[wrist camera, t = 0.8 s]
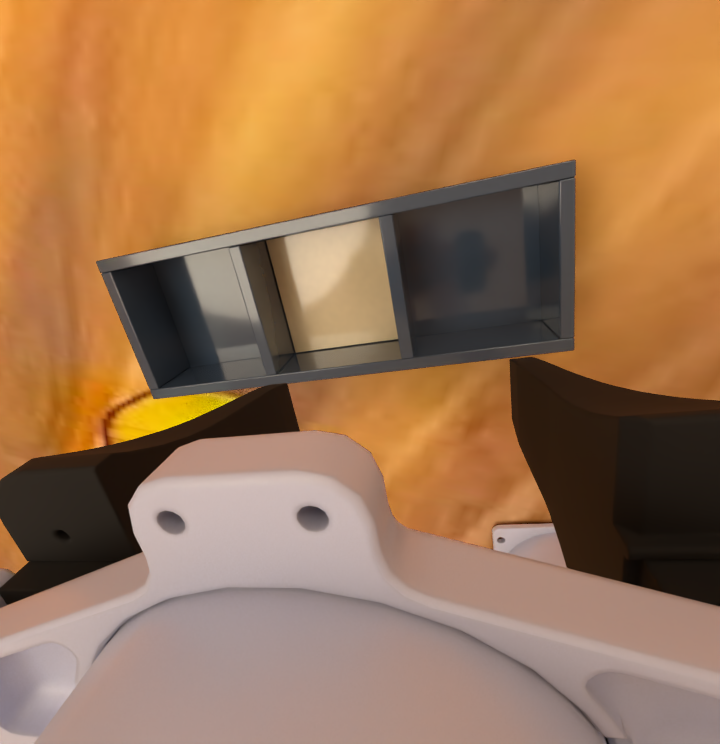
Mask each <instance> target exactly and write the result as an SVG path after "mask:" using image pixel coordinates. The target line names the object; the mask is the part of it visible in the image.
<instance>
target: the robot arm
mask: <svg viewBox="0 0 720 744" xmlns="http://www.w3.org/2000/svg"><path fill="white" fill-rule="evenodd" d="M510 382H511V404H512V420H513V424H514V428H515V432H516V435H517V439H518V442H519V445H520V447H521V450H522V452H523V454H524V456H525V459H526V461H527V463H528V465H529V467H530V470H531V472H532V474H533V476H534V478H535V480H536V483H537V485H538V487H539V489H540V491H541V493H542V496H543V498H544V500H545V502H546V505H547V508H548V510H549V513H550V515H551V518H552V522H553V523H545V524H511V525H496V526H494V527H493V528H492V538H493V549H494V550H493V549H489V548H485V547H481V546H477V545H473V544H469V543H465V542H461V541H457V540H453V539H449V538H445V537H441V536H437V535H433V534H429V533H425V532H421V531H417V530H413V529H410V528H407V527H405V526H404V525H402V524H400V523H399V522H398V521H397V520H396V519H395V518H394V516H393V515H392V512H391V510H390V507H389V504H388V500H387V494H386V489H385V484H384V479H383V475H382V473H381V471H380V469H379V468H378V466H377V464H376V462H375V460H374V458H373V456H372V454H371V452H369V451H368V450H367V449H365V448H364V447H362V446H361V445H359V444H358V443H356V442H355V441H353V440H352V439H350V438H349V437H348V436H346V435H342V434H335V433H329V432H323V431H316V430H313V431H300V430H299V427H298V423H297V419H296V415H295V412H294V408H293V404H292V400H291V397H290V393H289V389H288V385H287V383H281V384H272V385H267V386H264V387H261V388H258V389H256V390H254V391H252V392H249V393H247V394H245V395H243V396H241V397H239V398H237V399H235V400H233V401H231V402H229V403H227V404H225V405H223V406H221V407H219V408H216V409H214V410H212V411H210V412H208V413H206V414H203V415H201V416H199V417H197V418H195V419H192V420H190V421H187V422H185V423H182V424H179V425H177V426H174V427H171V428H169V429H166V430H163V431H160V432H156V433H153V434H150V435H146V436H143V437H140V438H136V439H133V440H129V441H125V442H121V443H117V444H113V445H108V446H104V447H99V448H94V449H89V450H84V451H78V452H72V453H65V454H59V455H53V456H46V457H39V458H34V459H31V460H29V461H28V462H26V463H25V464H23V465H22V466H20V467H19V468H17V469H16V470H14V471H13V472H11V473H10V474H8V475H7V476H5V477H4V478H2V479H1V480H0V518H1V520H2V522H3V524H4V526H5V527H6V529H7V530H8V532H9V533H10V535H11V536H12V538H13V540H14V541H15V543H16V544H17V546H18V547H19V549H20V550H21V552H22V554H23V555H24V557H25V558H26V560H27V561H29V562H28V563H27V564H26V565H25V566H24V567H23V568H22V569H21V570H19V571H18V572H17V573H16V574H15V573H13V572H12V571H10V570H8V569H4V568H0V744H720V401H716V400H701V399H690V398H680V397H672V396H665V395H658V394H651V393H645V392H640V391H634V390H630V389H626V388H621V387H617V386H613V385H609V384H605V383H602V382H599V381H596V380H593V379H590V378H586V377H583V376H581V375H578V374H575V373H573V372H570V371H567V370H565V369H562V368H560V367H557V366H555V365H553V364H550V363H548V362H545V361H543V360H540V359H537V358H533V357H528V358H518V359H510ZM500 537H502V539H498V538H500Z"/></svg>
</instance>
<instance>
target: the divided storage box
mask: <svg viewBox="0 0 720 744" xmlns="http://www.w3.org/2000/svg"><path fill="white" fill-rule="evenodd" d="M575 175H576V160H570V161H566V162H561V163H556V164H551V165H547V166H542V167H537V168H533V169H528V170H523V171H519V172H514V173H509V174H504V175H500V176H495V177H490V178H486V179H481V180H476V181H471V182H467V183H462V184H457V185H453V186H448V187H443V188H438V189H434V190H429V191H424V192H420V193H415V194H410V195H405V196H401V197H396V198H391V199H387V200H382V201H377V202H373V203H368V204H363V205H358V206H354V207H349V208H344V209H340V210H335V211H330V212H325V213H321V214H316V215H311V216H307V217H302V218H297V219H292V220H288V221H283V222H278V223H274V224H269V225H264V226H259V227H255V228H250V229H245V230H241V231H236V232H231V233H226V234H222V235H217V236H212V237H208V238H203V239H198V240H194V241H189V242H184V243H179V244H175V245H170V246H165V247H161V248H156V249H151V250H146V251H142V252H137V253H132V254H128V255H123V256H118V257H113V258H109V259H104V260H99V261H96V263H97V266H98V268H99V270H100V273H102V274H101V275H102V277H103V280H104V282H105V284H106V287H107V289H108V291H109V294H110V296H111V299H112V301H113V303H114V306H115V308H116V310H117V313H118V315H119V318H120V320H121V322H122V325H123V327H124V329H125V332H126V334H127V337H128V339H129V341H130V344H131V346H132V348H133V351H134V353H135V356H136V358H137V360H138V363H139V365H140V367H141V370H142V372H143V374H144V377H145V379H146V382H147V384H148V386H149V389H151V390H150V391H151V394H152V396H153V398H154V399H160V398H169V397H177V396H186V395H194V394H203V393H211V392H220V391H229V390H237V389H246V388H254V387H263V386H267V385H272V384H281V383H287V384H289V383H297V382H306V381H314V380H323V379H332V378H340V377H349V376H357V375H366V374H375V373H383V372H392V371H400V370H409V369H417V368H426V367H435V366H443V365H452V364H460V363H469V362H478V361H486V360H495V359H503V358H512V357H520V356H529V355H538V354H546V353H555V352H563V351H572V350H574V338H573V337H574V319H575Z"/></svg>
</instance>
